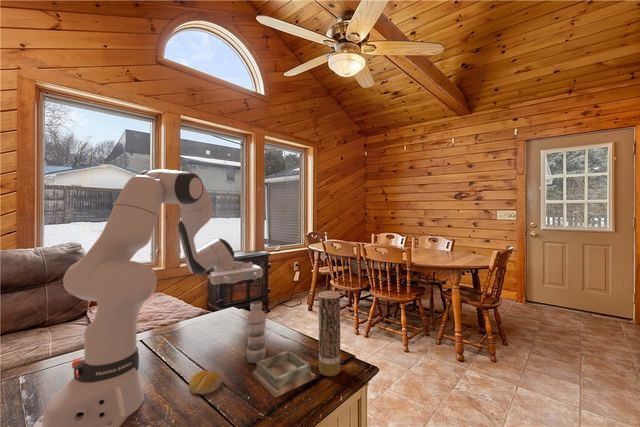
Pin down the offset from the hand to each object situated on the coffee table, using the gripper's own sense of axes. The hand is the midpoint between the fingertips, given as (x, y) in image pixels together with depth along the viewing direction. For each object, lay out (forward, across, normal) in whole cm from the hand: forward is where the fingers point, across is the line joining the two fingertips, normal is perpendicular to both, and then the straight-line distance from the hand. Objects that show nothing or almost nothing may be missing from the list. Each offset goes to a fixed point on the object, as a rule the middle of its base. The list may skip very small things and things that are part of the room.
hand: (243, 279), depth 109 cm
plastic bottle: (+12, 0, +26) cm, 29 cm away
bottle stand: (+26, +3, +25) cm, 37 cm away
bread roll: (+17, -18, +26) cm, 36 cm away
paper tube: (+32, +17, +26) cm, 44 cm away
